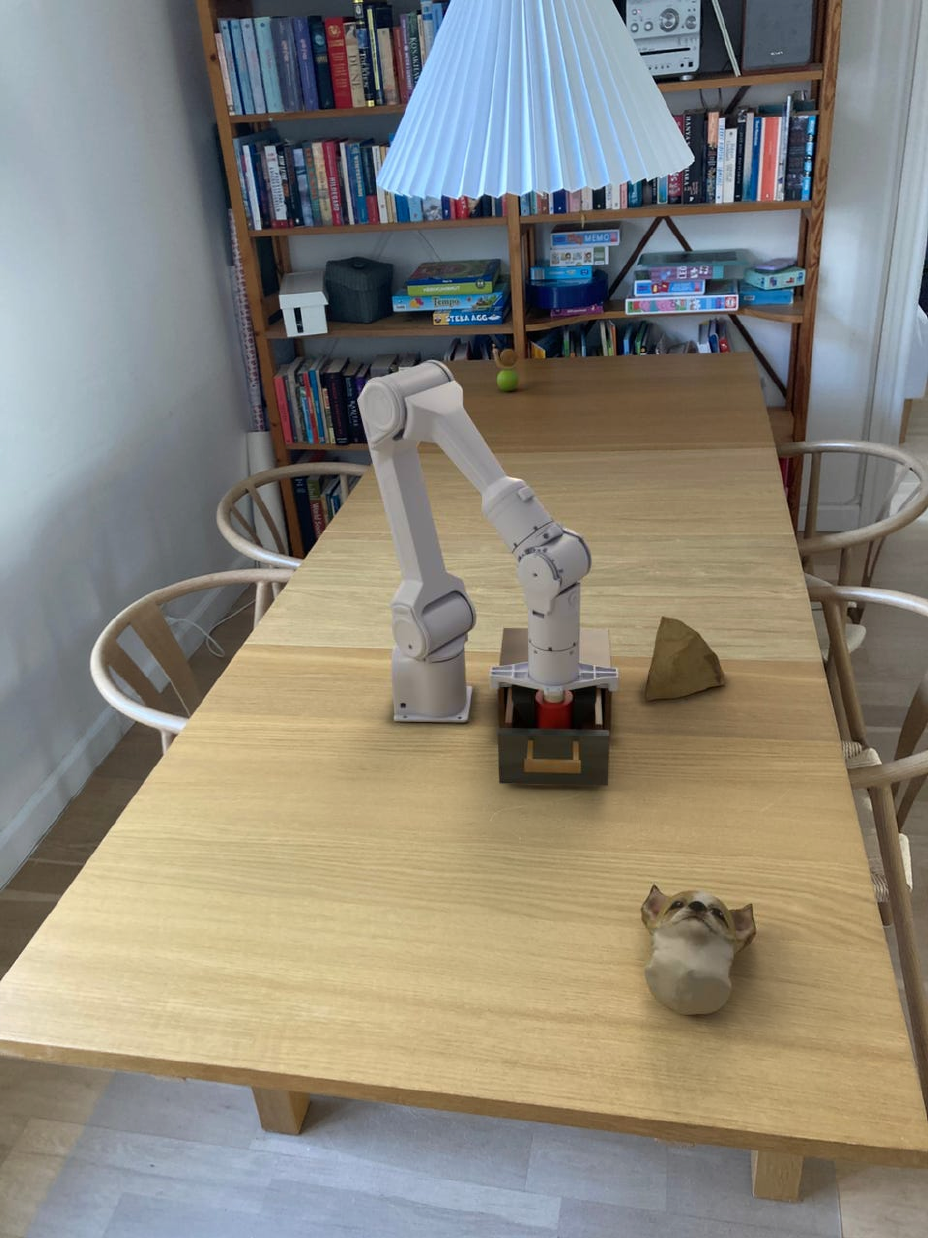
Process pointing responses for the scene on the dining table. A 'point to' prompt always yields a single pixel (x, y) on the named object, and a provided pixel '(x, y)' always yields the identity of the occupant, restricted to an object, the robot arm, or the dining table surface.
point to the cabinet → (590, 652)
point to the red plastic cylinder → (554, 711)
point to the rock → (681, 662)
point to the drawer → (553, 751)
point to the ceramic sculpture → (693, 948)
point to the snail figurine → (506, 369)
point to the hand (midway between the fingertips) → (553, 737)
